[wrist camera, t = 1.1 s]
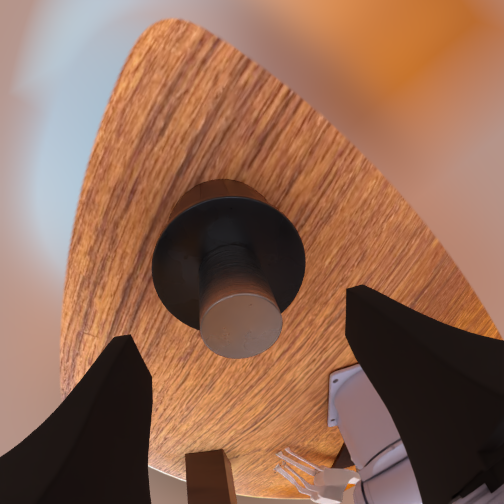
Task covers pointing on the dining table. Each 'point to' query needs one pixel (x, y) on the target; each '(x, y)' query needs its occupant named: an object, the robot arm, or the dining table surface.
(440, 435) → the robot arm
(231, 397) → the dining table surface
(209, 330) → the lid
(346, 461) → the hamburger
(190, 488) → the stand
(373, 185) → the dining table surface
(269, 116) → the dining table surface
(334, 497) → the white flat pronged piece
